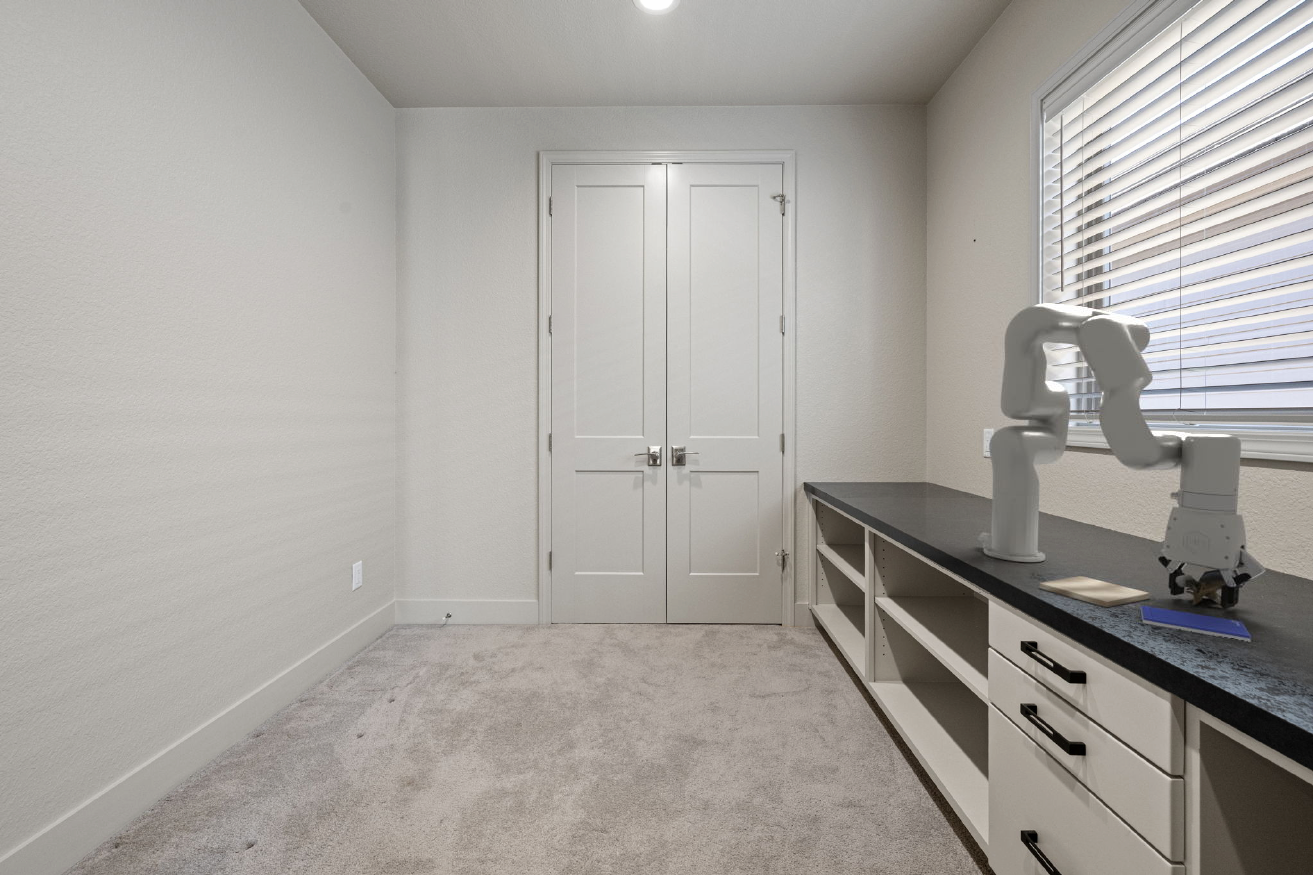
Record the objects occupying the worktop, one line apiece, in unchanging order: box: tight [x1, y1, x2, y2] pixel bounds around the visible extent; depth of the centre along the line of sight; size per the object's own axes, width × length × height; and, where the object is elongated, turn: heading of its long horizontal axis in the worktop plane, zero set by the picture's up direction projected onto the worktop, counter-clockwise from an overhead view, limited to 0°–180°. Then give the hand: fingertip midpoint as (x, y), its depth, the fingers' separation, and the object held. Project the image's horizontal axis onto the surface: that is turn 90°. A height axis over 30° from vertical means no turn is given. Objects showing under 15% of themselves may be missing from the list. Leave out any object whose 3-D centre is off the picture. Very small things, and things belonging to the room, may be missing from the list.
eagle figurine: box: [1176, 569, 1246, 606], centre depth 103 cm, size 8×7×9 cm
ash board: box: [1038, 575, 1151, 608], centre depth 109 cm, size 12×13×1 cm
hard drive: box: [1140, 605, 1252, 643], centre depth 93 cm, size 2×8×12 cm
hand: (1201, 599), depth 102 cm, fingers closed on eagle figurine, 6 cm apart
